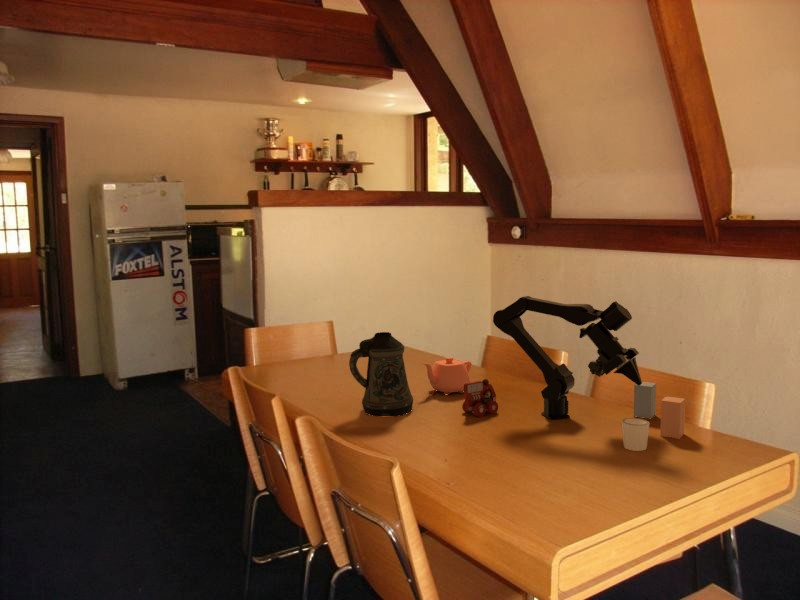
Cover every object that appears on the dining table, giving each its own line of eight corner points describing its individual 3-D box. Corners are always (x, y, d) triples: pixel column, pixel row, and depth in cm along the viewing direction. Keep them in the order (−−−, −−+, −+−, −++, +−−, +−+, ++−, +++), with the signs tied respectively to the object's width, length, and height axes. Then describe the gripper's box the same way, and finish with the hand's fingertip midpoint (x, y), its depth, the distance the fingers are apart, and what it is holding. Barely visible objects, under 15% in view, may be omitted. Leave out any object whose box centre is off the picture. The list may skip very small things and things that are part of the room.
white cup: (648, 444, 181) (649, 418, 180) (649, 452, 174) (649, 426, 173) (621, 441, 183) (622, 416, 182) (621, 450, 176) (621, 424, 175)
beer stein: (424, 408, 218) (422, 332, 215) (381, 422, 204) (379, 340, 201) (387, 400, 230) (385, 327, 227) (344, 413, 216) (342, 335, 213)
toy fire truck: (502, 411, 213) (502, 379, 212) (472, 419, 206) (472, 385, 205) (488, 407, 219) (487, 375, 218) (458, 414, 212) (457, 381, 211)
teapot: (413, 391, 241) (413, 357, 239) (461, 384, 250) (460, 351, 248) (433, 400, 229) (432, 364, 227) (482, 391, 238) (481, 357, 237)
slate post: (633, 417, 205) (634, 384, 204) (638, 413, 209) (639, 381, 208) (650, 419, 202) (651, 386, 201) (655, 415, 206) (656, 383, 205)
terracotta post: (660, 435, 187) (661, 400, 186) (665, 430, 191) (666, 396, 190) (679, 438, 184) (680, 403, 183) (683, 433, 188) (685, 398, 187)
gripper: (592, 353, 208) (626, 394, 203) (573, 361, 192) (609, 407, 187) (621, 330, 203) (656, 373, 198) (603, 338, 187) (641, 383, 182)
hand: (640, 384), depth 191 cm, fingers closed
